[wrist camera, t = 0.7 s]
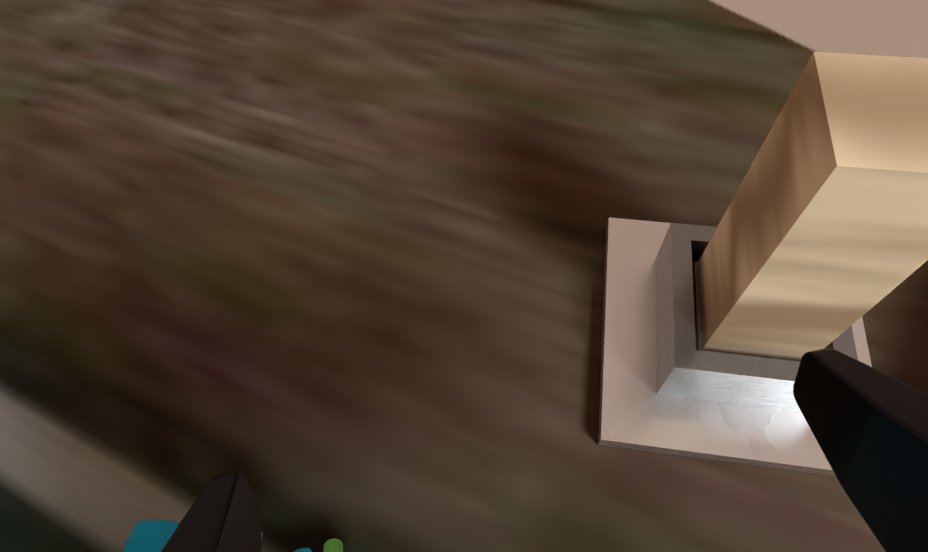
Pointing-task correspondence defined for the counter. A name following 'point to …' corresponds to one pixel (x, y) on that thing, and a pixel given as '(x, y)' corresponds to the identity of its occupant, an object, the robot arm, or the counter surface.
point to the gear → (156, 533)
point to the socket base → (691, 363)
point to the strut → (821, 212)
